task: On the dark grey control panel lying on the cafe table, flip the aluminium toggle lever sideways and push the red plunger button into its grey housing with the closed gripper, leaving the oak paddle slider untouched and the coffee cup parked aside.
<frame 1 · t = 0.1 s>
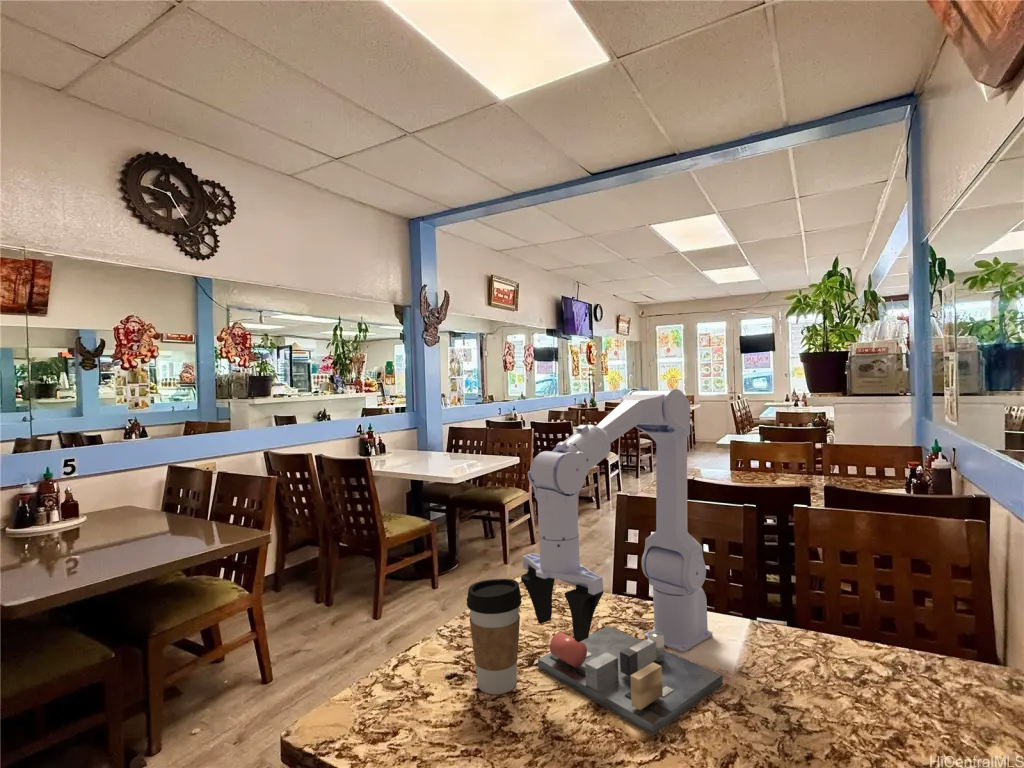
hand: (562, 629, 75), 10 cm above the table, tool pointing down, fingers open, 7 cm apart
plunger: (568, 649, 82), point 4 cm above the table, slide at 0.0 cm
paddle: (646, 685, 71), point 4 cm above the table, slide at 0.0 cm
lever: (643, 652, 80), point 4 cm above the table, hinge at 0.0°
coffee cup: (497, 684, 80), on the table
panel: (626, 676, 81), on the table
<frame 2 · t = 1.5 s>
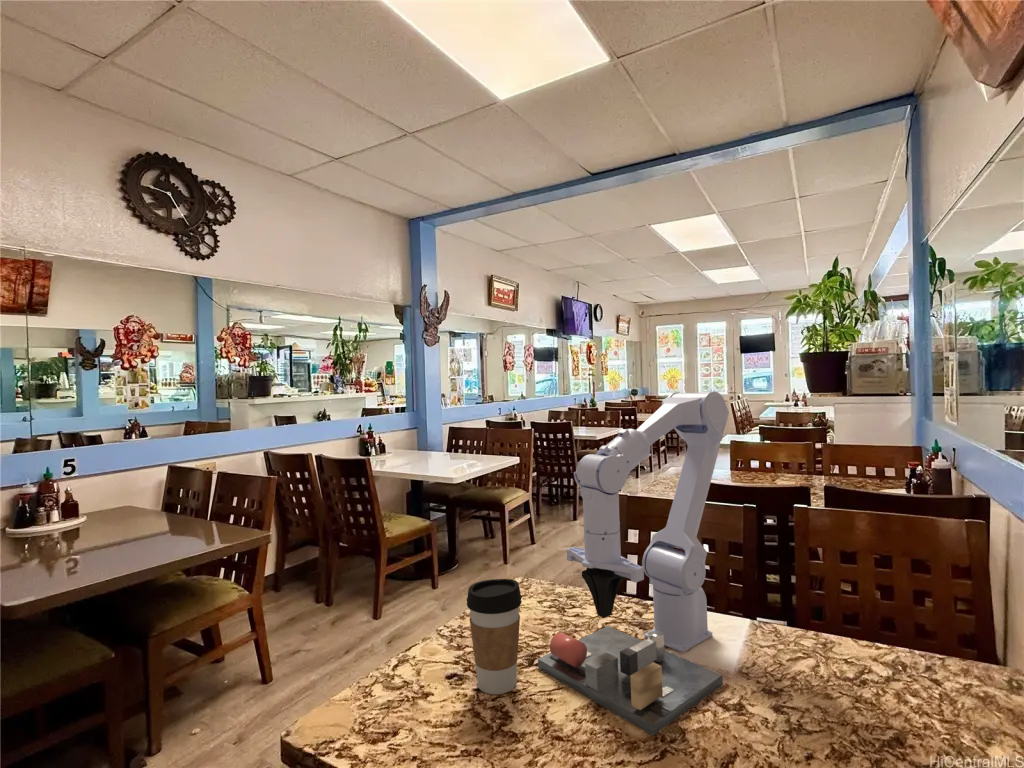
hand: (604, 615, 84), 8 cm above the table, tool pointing down, fingers closed
nothing on the table moved.
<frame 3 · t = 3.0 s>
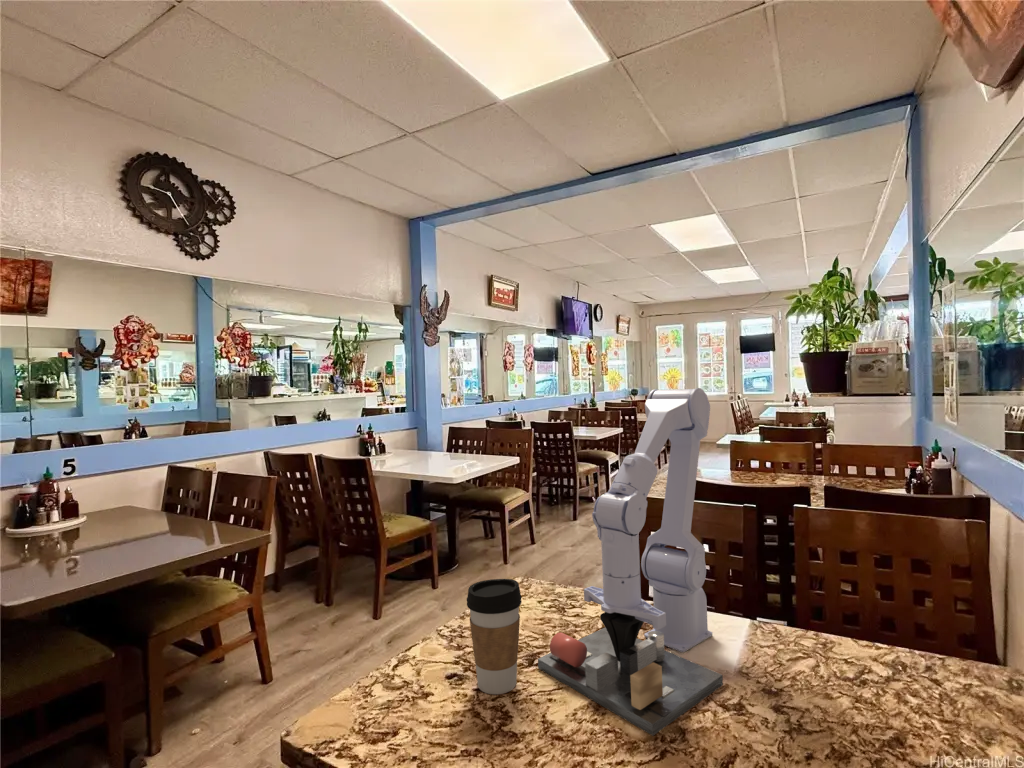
hand: (624, 659, 81), 2 cm above the table, tool pointing down, fingers closed, pressing on lever
lever: (643, 652, 80), point 4 cm above the table, hinge at 0.0°, touching gripper
everything else where it was.
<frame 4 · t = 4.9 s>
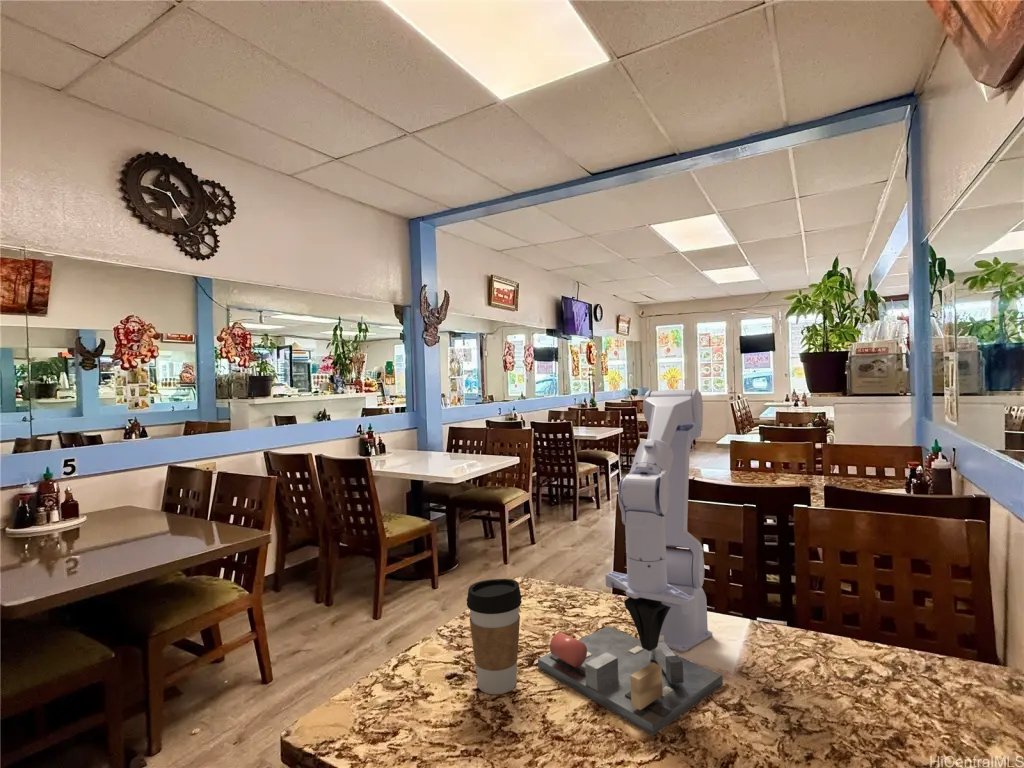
hand: (649, 647, 77), 6 cm above the table, tool pointing down, fingers closed
lever: (664, 656, 79), point 4 cm above the table, hinge at 57.2°
everything else where it was.
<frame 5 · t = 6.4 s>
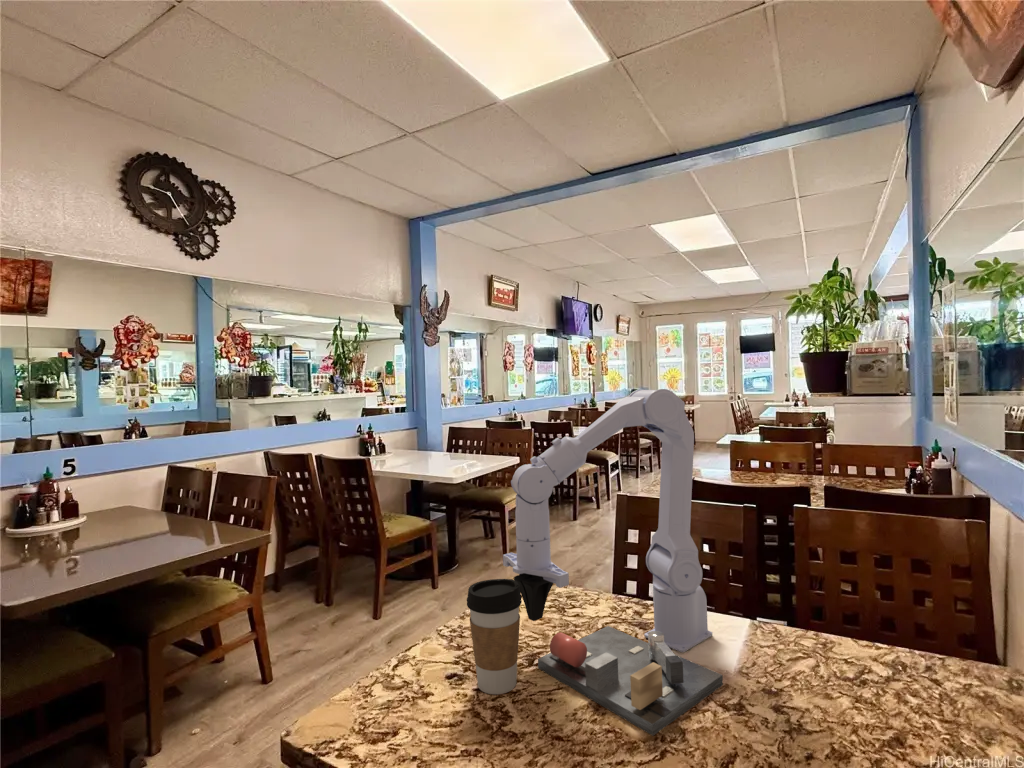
hand: (535, 618, 88), 6 cm above the table, tool pointing down, fingers closed
nothing on the table moved.
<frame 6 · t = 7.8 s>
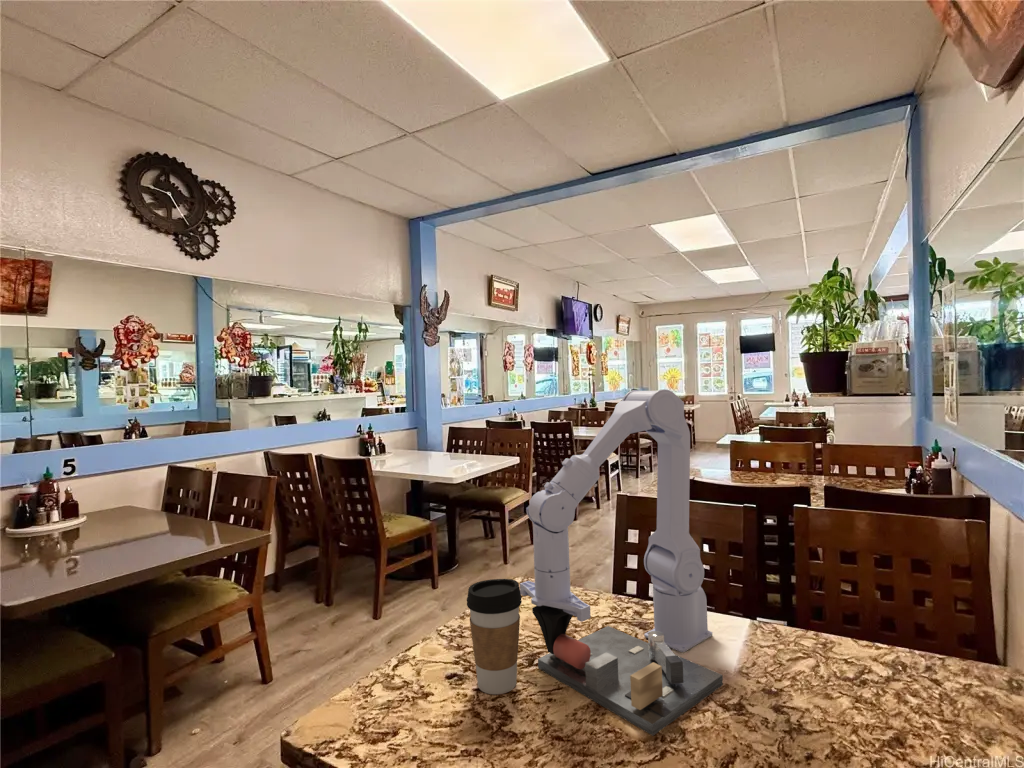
hand: (555, 651, 84), 2 cm above the table, tool pointing down, fingers closed
plunger: (571, 651, 81), point 4 cm above the table, slide at 0.8 cm, touching gripper
everything else where it was.
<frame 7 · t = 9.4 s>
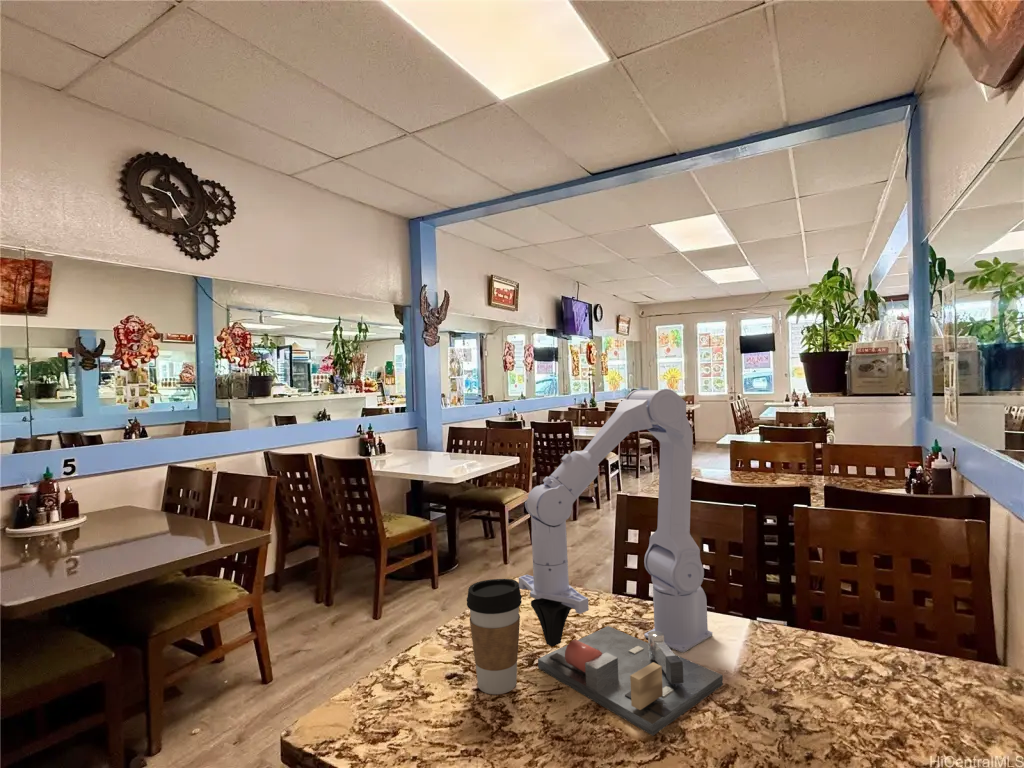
hand: (553, 643, 85), 3 cm above the table, tool pointing down, fingers closed
plunger: (584, 657, 79), point 4 cm above the table, slide at 3.4 cm
everything else where it was.
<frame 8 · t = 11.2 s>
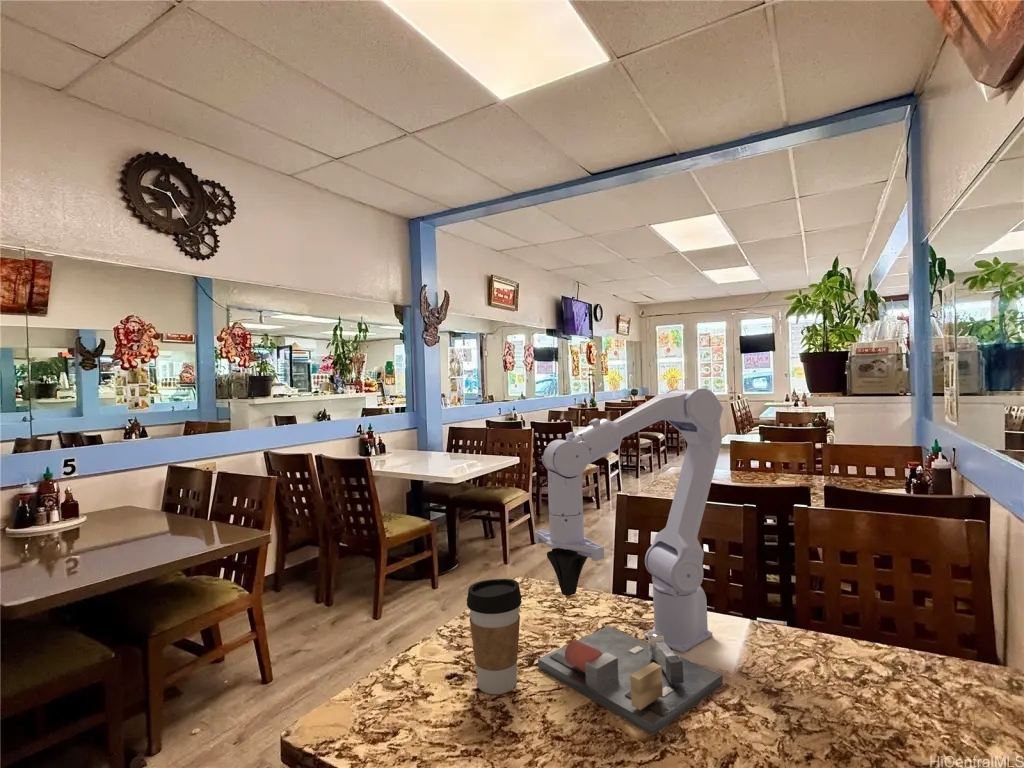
hand: (568, 593, 87), 10 cm above the table, tool pointing down, fingers closed
nothing on the table moved.
at the end: lever at +57° (first picture: +0°); plunger slide at 3.4 cm; paddle slide at 0.0 cm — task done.
